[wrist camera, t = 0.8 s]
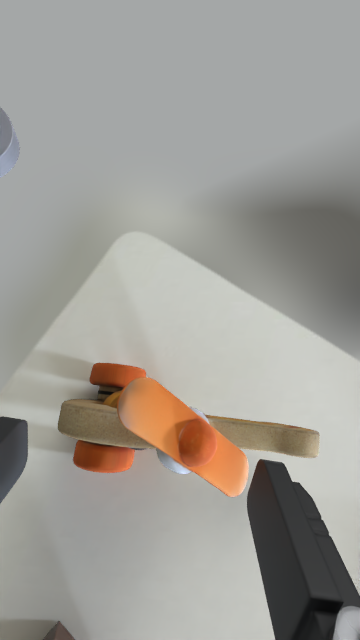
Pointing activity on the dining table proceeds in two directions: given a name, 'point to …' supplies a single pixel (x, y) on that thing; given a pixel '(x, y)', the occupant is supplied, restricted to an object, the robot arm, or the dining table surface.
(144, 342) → the dining table surface
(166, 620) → the dining table surface
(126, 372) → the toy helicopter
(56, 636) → the walnut block
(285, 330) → the dining table surface
